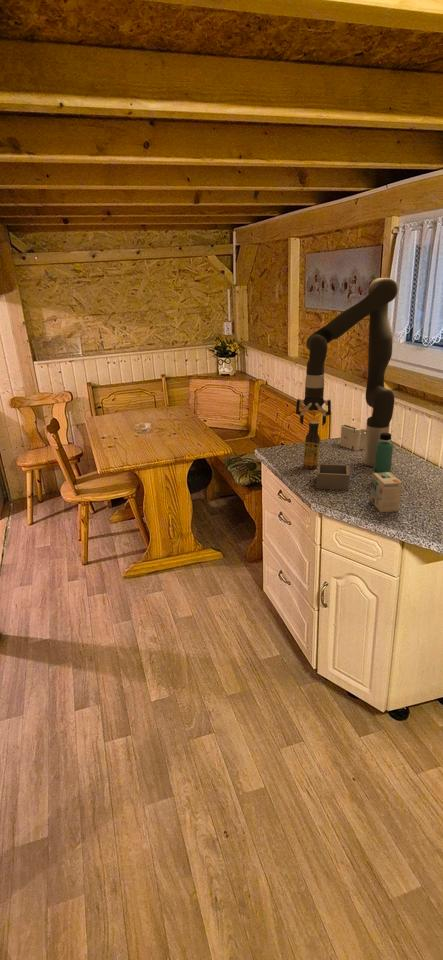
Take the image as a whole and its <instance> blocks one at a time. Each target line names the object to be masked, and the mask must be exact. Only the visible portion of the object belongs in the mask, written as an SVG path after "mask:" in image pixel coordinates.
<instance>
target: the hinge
mask: <svg viewBox="0 0 443 960" xmlns="http://www.w3.org/2000/svg"><path fill="white" fill-rule="evenodd" d="M365 439H366V428H358V427H355V426H353V425H352V426H351V425H349V424H343V425H342V424H341V427H340V443H339V444H340V445H339V446H340V447H342V446H343V447H342V448H345V447H346V449H348V448H349V450H351V449H352V451H355V450H358V451H360V450H359V449H365Z"/></svg>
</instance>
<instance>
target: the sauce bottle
mask: <svg viewBox="0 0 443 960" xmlns="http://www.w3.org/2000/svg"><path fill="white" fill-rule="evenodd" d="M319 424H320V423H319V421H308V432H307V434H306V436H305V440H304V441H305V442H304V449H303V450H304V451H303V453H304V454H303V460H302V461H303V468H305V469H308V470H314V469H316V468H317V469H318V464H319V456H320V440H321V438H320V435H319Z"/></svg>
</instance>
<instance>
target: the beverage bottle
mask: <svg viewBox="0 0 443 960" xmlns="http://www.w3.org/2000/svg"><path fill="white" fill-rule="evenodd" d="M380 439H381V440H388V441H380V442H378V443H377V447H376V453H375V455H376V456H375V457H376V458H375V465H374V466H375V467H374V469H373V470H374V471H373V473H384V472H391V473H392V459H393V451H394V450H393V449H394V444H393V443H392V442H391V441H390V440H392V433H390V432H389V433H381V435H380Z"/></svg>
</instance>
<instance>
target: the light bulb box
mask: <svg viewBox="0 0 443 960" xmlns="http://www.w3.org/2000/svg"><path fill="white" fill-rule="evenodd" d="M402 485H403V482H402V481H401V480H400V479H398V477H396V476H395V475H394V474H393V473H392V471H391V472H384V473H374V472H373V473H372V479H371V489H370V497H369V498H370V499H369V500H370V501H371V503H372V504H373V505H374V506H375V507H376V509H378V511H379V512H380V513H387V512H390V513H391V512H399V509H400V502H401V493H402Z"/></svg>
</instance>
